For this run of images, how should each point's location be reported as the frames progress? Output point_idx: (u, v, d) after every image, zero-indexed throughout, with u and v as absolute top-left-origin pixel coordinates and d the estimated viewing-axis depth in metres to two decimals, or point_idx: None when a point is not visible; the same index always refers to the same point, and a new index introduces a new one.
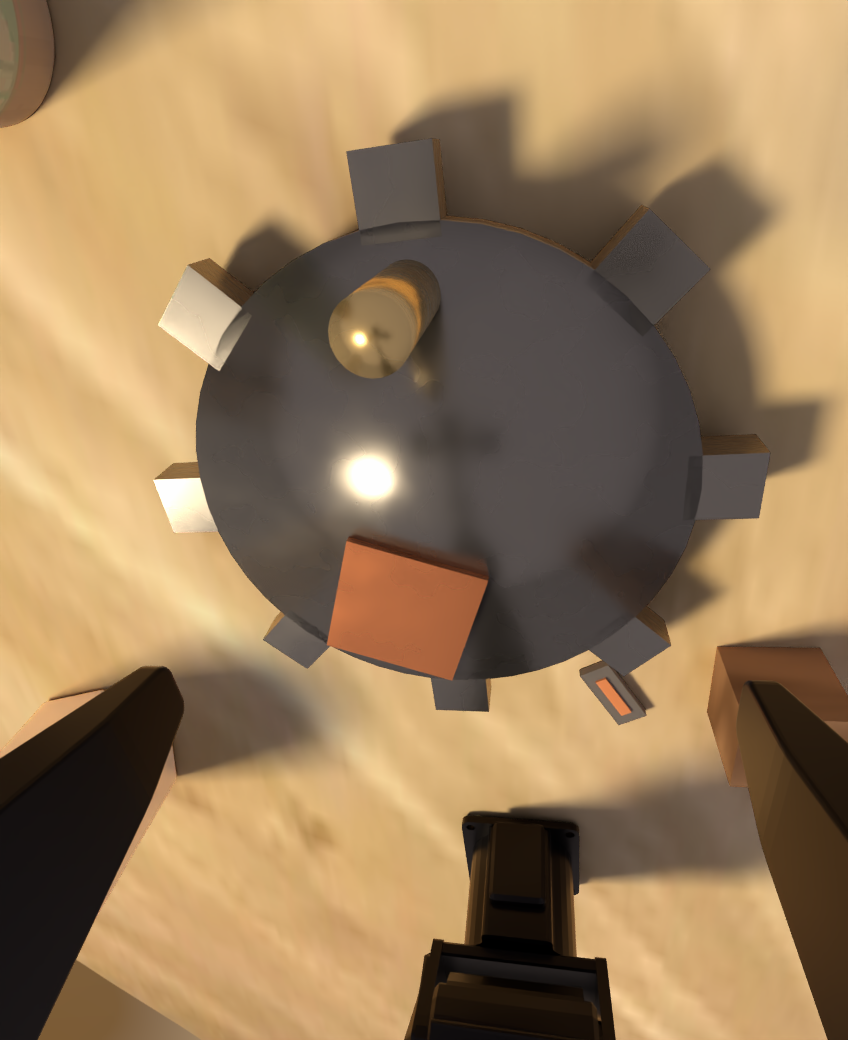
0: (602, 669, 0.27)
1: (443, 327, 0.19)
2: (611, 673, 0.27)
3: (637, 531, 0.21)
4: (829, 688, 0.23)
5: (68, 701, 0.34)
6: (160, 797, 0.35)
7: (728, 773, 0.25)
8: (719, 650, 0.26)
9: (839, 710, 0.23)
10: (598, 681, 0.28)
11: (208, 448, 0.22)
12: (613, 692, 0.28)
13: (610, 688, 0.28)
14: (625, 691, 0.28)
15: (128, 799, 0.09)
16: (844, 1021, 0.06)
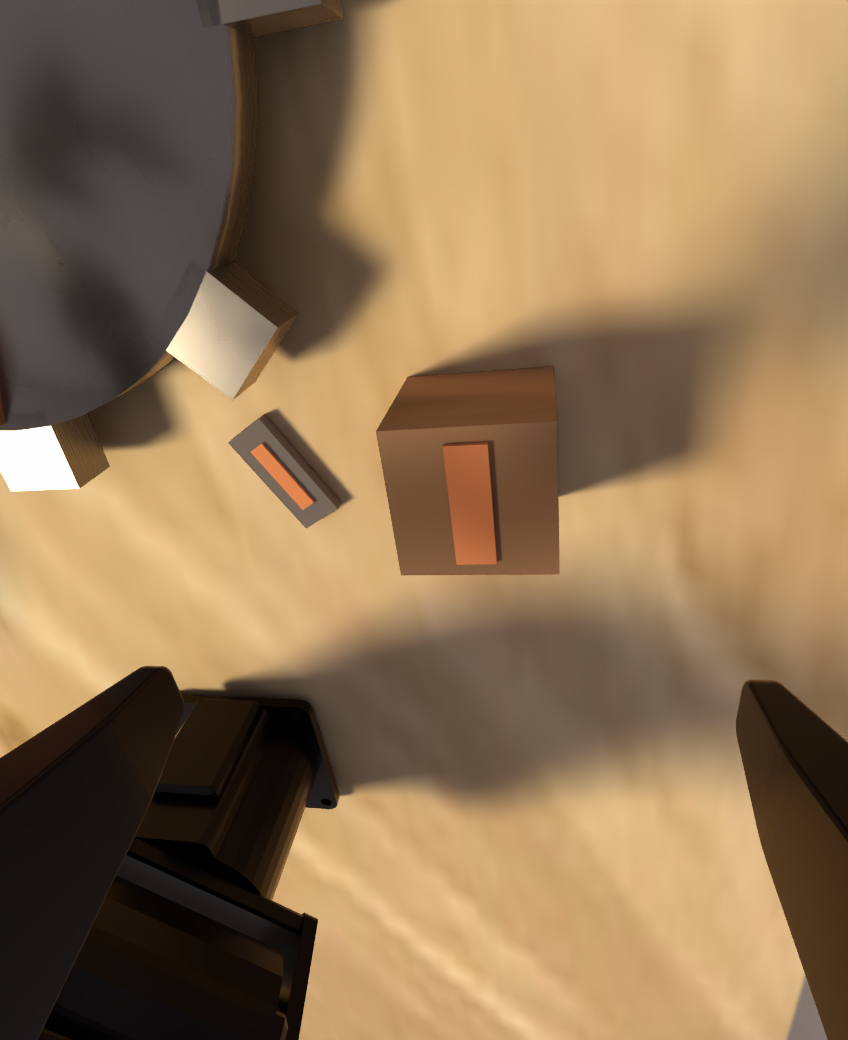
0: (254, 427, 0.18)
1: None
2: (268, 433, 0.18)
3: (144, 68, 0.12)
4: (534, 396, 0.14)
5: None
6: None
7: None
8: (407, 379, 0.17)
9: (530, 413, 0.13)
10: (255, 450, 0.18)
11: None
12: (279, 468, 0.19)
13: (273, 461, 0.18)
14: (297, 465, 0.19)
15: (128, 799, 0.09)
16: (844, 1021, 0.06)
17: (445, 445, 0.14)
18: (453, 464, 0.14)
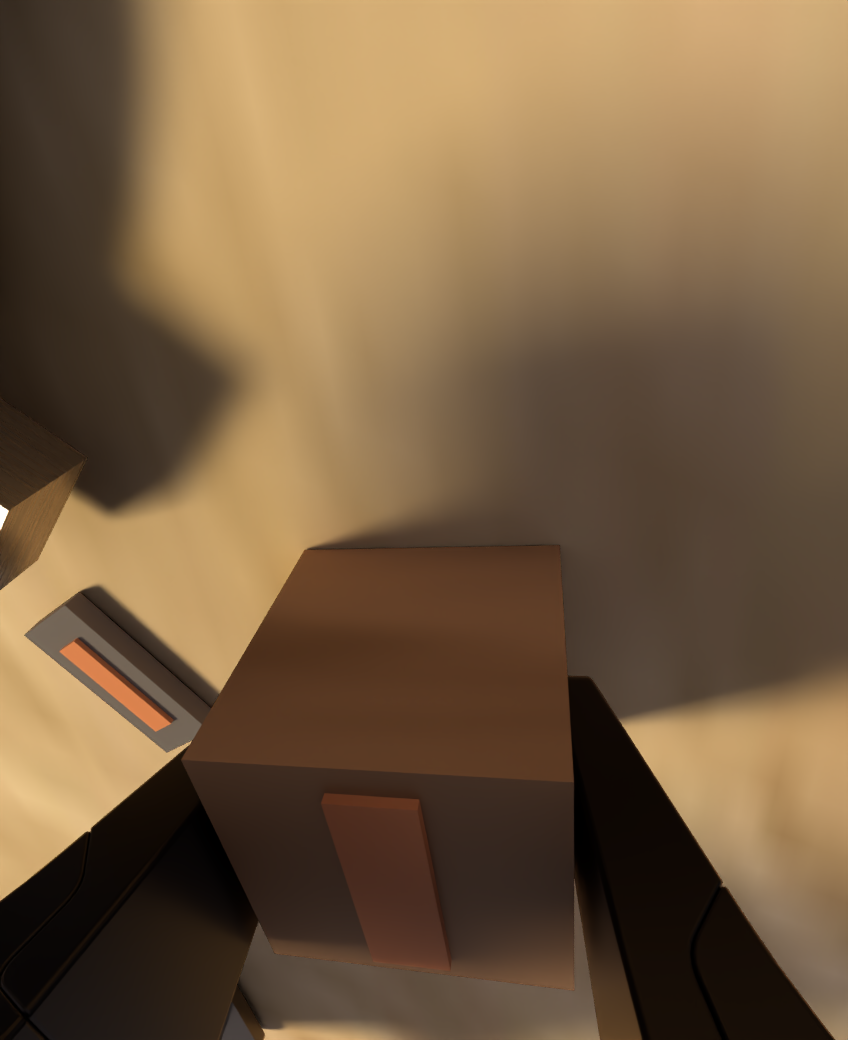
0: (59, 616, 0.11)
1: None
2: (84, 626, 0.11)
3: None
4: (522, 656, 0.07)
5: None
6: None
7: None
8: (299, 561, 0.09)
9: (513, 732, 0.06)
10: (68, 647, 0.11)
11: None
12: (110, 675, 0.11)
13: (98, 665, 0.11)
14: (137, 671, 0.11)
15: None
16: (598, 991, 0.07)
17: (328, 798, 0.06)
18: (346, 832, 0.06)
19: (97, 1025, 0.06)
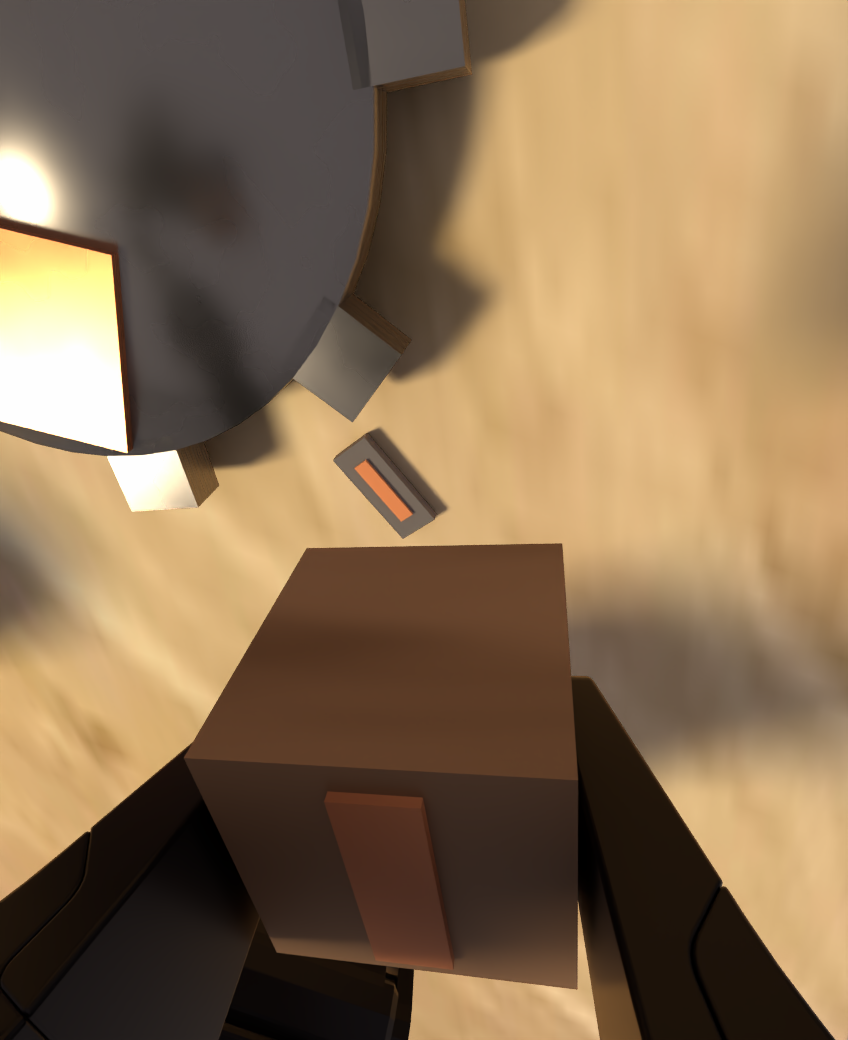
0: (358, 445, 0.19)
1: None
2: (372, 450, 0.19)
3: (295, 127, 0.13)
4: (526, 654, 0.07)
5: None
6: None
7: None
8: (301, 559, 0.09)
9: (517, 730, 0.06)
10: (359, 466, 0.20)
11: None
12: (381, 483, 0.20)
13: (376, 476, 0.20)
14: (398, 479, 0.20)
15: None
16: (598, 991, 0.07)
17: (332, 797, 0.06)
18: (349, 830, 0.06)
19: (98, 1024, 0.06)
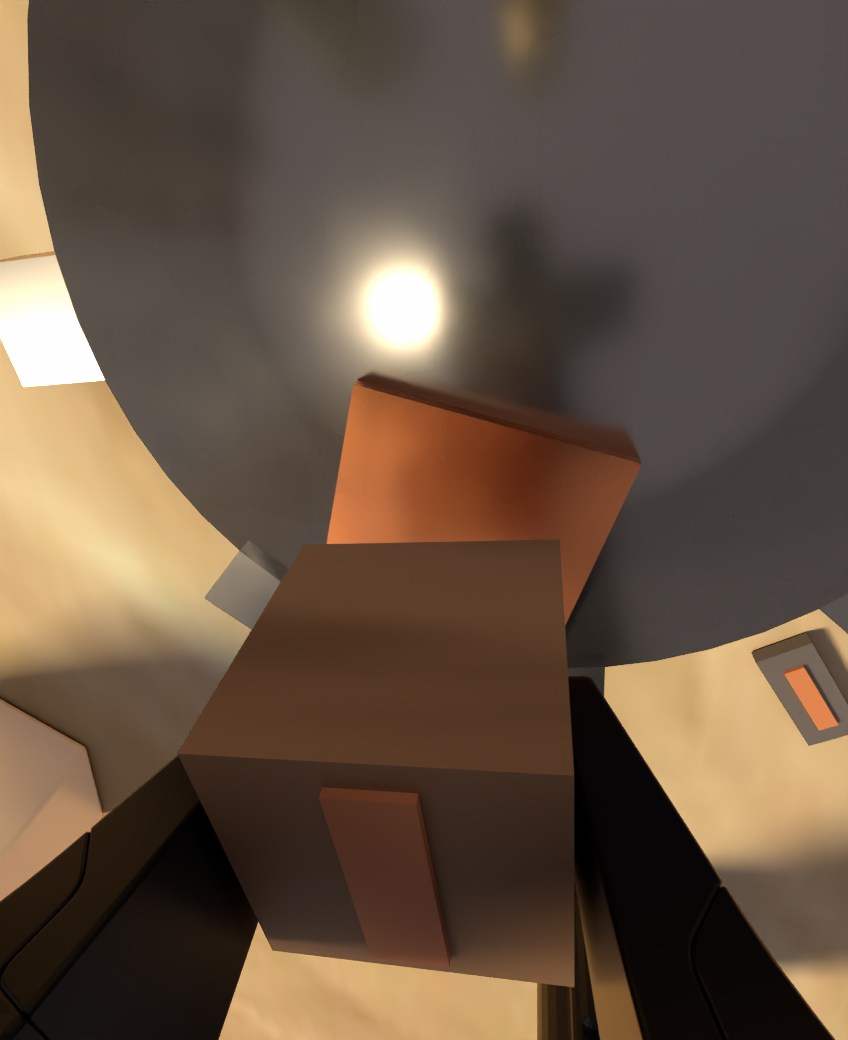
0: (800, 650, 0.16)
1: None
2: (816, 657, 0.16)
3: None
4: (522, 650, 0.07)
5: None
6: None
7: None
8: (298, 556, 0.09)
9: (513, 726, 0.06)
10: (789, 671, 0.16)
11: (63, 177, 0.11)
12: (812, 690, 0.16)
13: (808, 684, 0.16)
14: (835, 688, 0.16)
15: None
16: (598, 991, 0.07)
17: (326, 793, 0.06)
18: (343, 827, 0.06)
19: (99, 1025, 0.06)
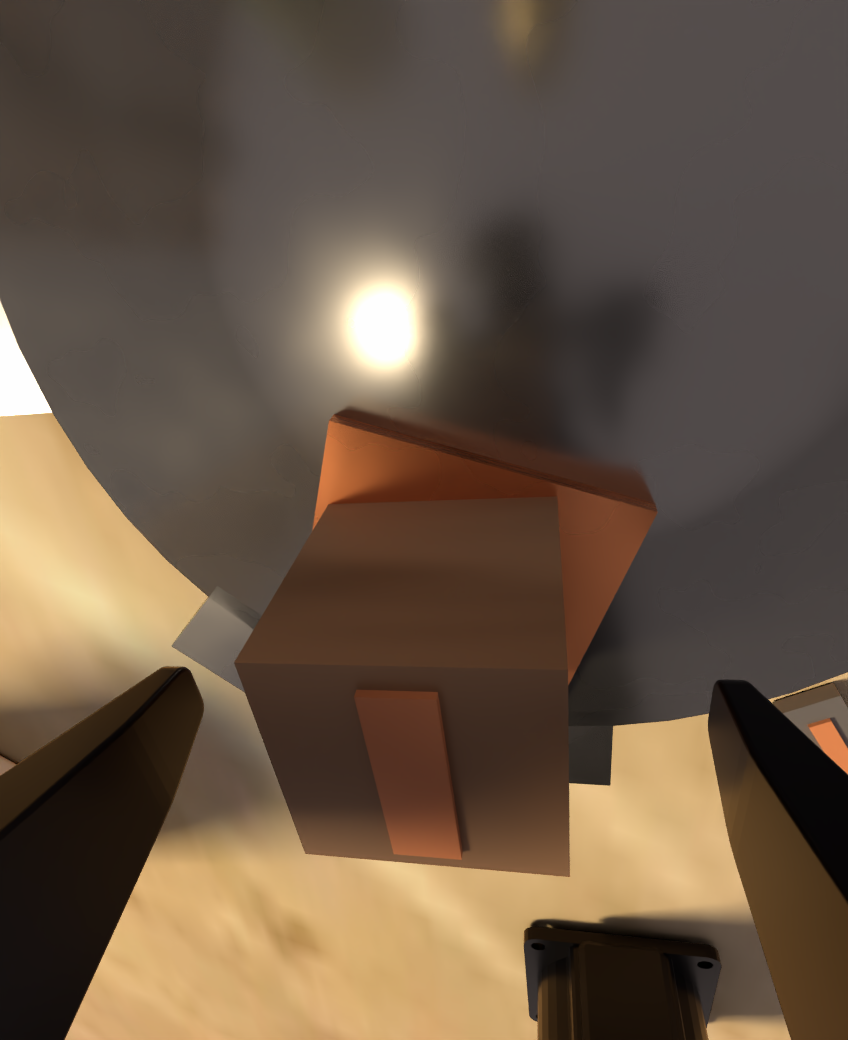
0: (826, 703, 0.14)
1: None
2: (844, 710, 0.14)
3: None
4: (525, 581, 0.08)
5: None
6: None
7: None
8: (324, 513, 0.11)
9: (517, 636, 0.07)
10: (814, 724, 0.14)
11: None
12: (840, 745, 0.15)
13: (835, 738, 0.15)
14: None
15: (150, 801, 0.09)
16: (803, 1016, 0.06)
17: (360, 693, 0.07)
18: (375, 724, 0.07)
19: None
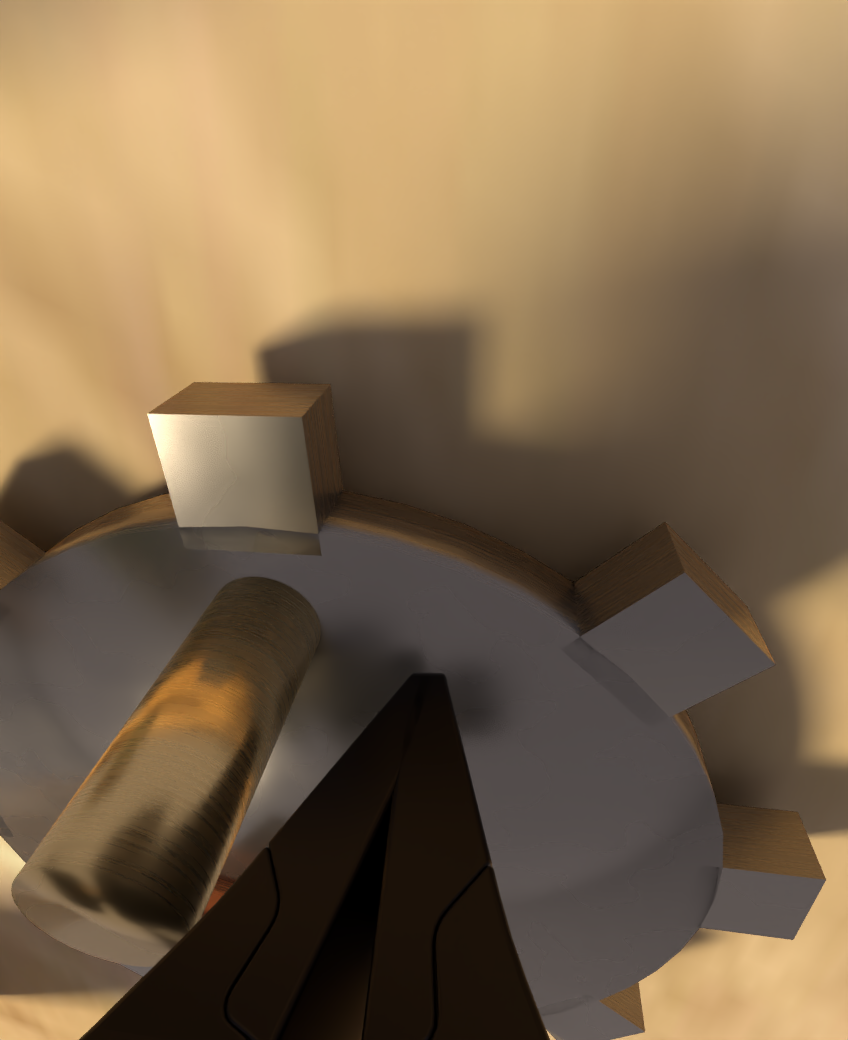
0: None
1: (326, 669, 0.11)
2: None
3: (612, 925, 0.14)
4: None
5: None
6: None
7: None
8: None
9: None
10: None
11: None
12: None
13: None
14: None
15: None
16: None
17: None
18: None
19: None
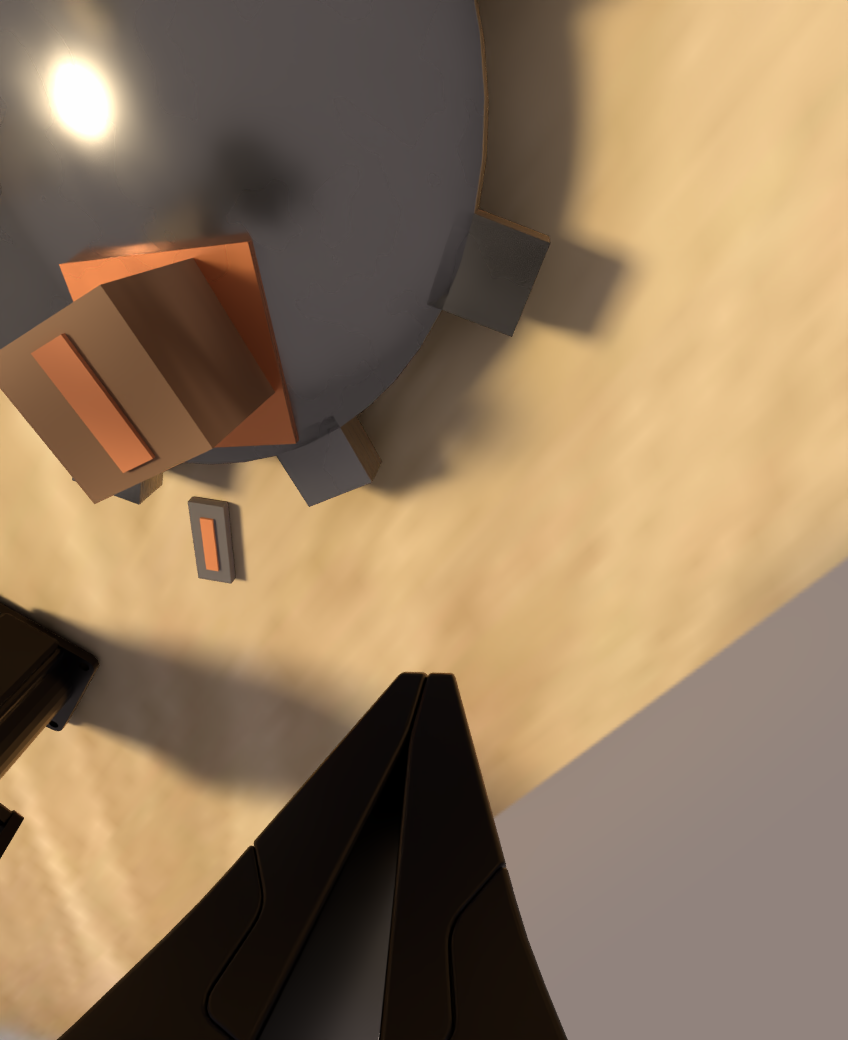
0: (215, 508, 0.23)
1: None
2: (222, 518, 0.23)
3: (397, 38, 0.13)
4: None
5: None
6: None
7: None
8: None
9: None
10: (204, 518, 0.23)
11: None
12: (212, 539, 0.23)
13: (211, 533, 0.23)
14: (225, 545, 0.24)
15: None
16: None
17: (34, 351, 0.13)
18: (50, 368, 0.14)
19: None
